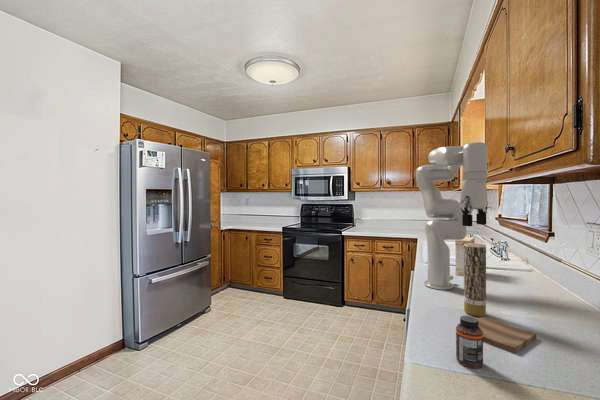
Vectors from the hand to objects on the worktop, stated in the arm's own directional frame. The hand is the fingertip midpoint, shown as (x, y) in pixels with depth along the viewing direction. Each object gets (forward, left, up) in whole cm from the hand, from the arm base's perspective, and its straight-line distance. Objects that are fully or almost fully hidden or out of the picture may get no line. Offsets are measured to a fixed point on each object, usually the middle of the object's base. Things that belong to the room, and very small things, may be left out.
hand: (474, 225), depth 104 cm
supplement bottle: (+34, +15, -32) cm, 49 cm away
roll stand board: (+12, +12, -32) cm, 36 cm away
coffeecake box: (-54, -31, -32) cm, 70 cm away
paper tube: (0, 0, -32) cm, 32 cm away
